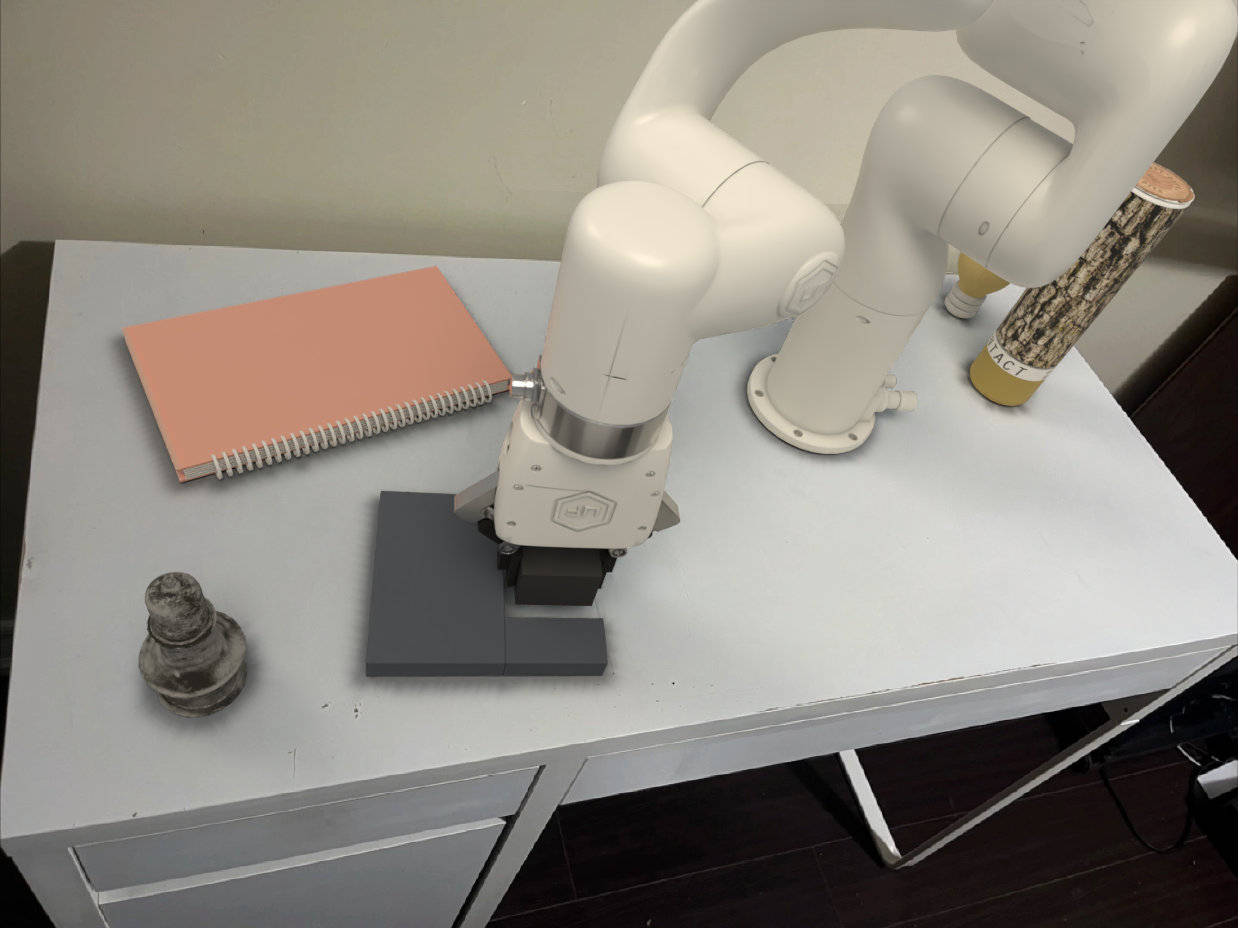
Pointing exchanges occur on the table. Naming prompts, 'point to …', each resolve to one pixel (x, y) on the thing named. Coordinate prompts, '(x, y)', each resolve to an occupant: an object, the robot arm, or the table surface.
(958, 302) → the light bulb
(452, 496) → the gray notched slab
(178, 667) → the chess piece
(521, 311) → the table surface
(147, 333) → the notebook
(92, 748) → the table surface
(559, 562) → the pad piece
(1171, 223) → the paper tube
